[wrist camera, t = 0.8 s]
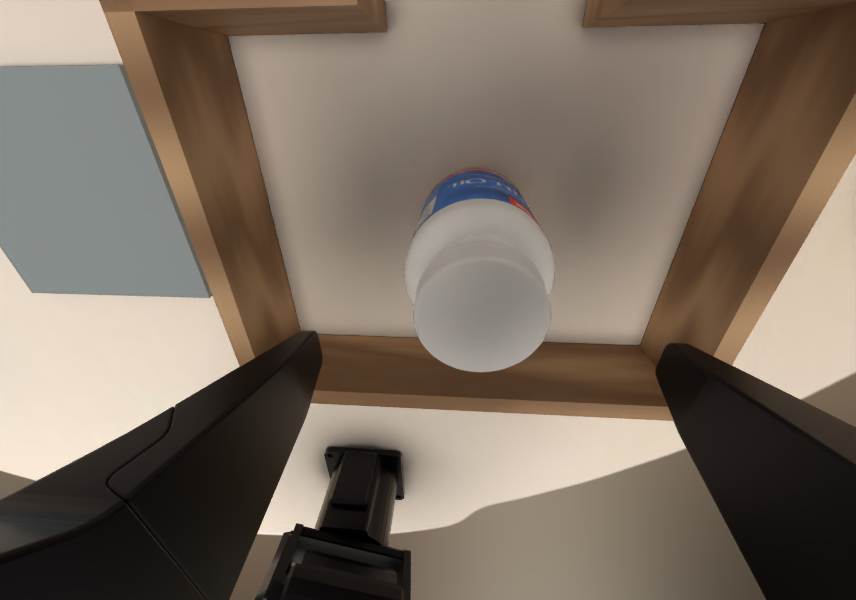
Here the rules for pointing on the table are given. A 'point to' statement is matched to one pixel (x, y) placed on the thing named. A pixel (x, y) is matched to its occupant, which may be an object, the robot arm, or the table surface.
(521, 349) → the pill bottle
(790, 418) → the robot arm
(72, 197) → the slate mat
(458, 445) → the table surface
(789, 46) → the walnut box
